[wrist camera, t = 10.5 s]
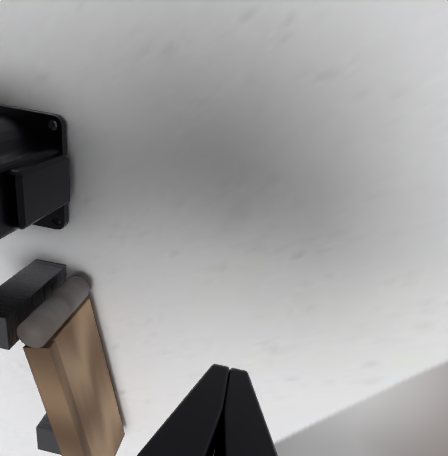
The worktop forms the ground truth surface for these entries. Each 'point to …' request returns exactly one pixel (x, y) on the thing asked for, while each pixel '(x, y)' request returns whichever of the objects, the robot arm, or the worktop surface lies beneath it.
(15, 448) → the worktop surface
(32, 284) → the gate frame
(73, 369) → the gate
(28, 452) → the worktop surface
